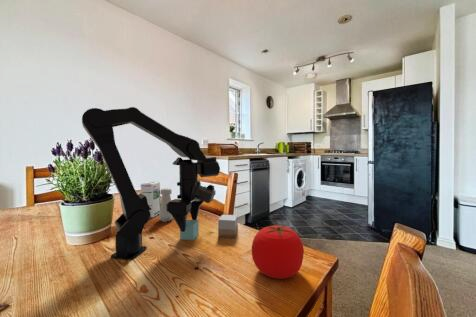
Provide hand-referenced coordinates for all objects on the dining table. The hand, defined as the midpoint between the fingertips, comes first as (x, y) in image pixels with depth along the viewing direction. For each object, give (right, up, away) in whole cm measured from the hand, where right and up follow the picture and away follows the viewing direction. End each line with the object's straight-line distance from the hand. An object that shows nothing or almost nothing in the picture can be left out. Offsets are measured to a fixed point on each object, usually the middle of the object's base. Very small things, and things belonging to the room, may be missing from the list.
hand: (189, 226), depth 67 cm
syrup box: (-22, -3, +23) cm, 32 cm away
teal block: (0, -4, 0) cm, 4 cm away
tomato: (+25, -4, -19) cm, 32 cm away
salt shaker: (-13, -3, +17) cm, 22 cm away
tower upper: (+13, -1, +2) cm, 13 cm away
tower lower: (+13, -4, +2) cm, 13 cm away
